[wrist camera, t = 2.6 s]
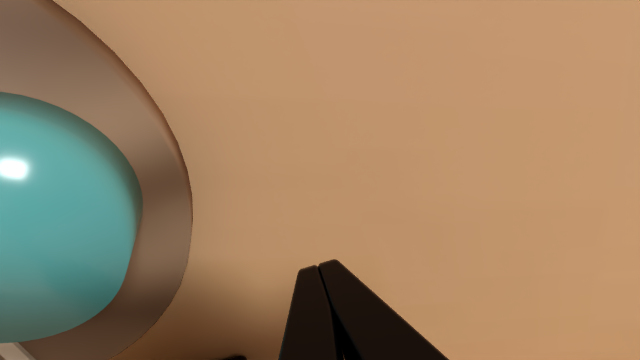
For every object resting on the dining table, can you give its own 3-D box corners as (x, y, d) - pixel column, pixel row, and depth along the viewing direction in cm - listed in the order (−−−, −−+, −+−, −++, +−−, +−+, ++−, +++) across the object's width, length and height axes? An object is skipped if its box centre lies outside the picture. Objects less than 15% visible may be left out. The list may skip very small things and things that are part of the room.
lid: (175, 247, 16) (167, 301, 14) (-19, 302, 16) (-66, 370, 13) (77, 62, 12) (39, 92, 9) (-199, 128, 11) (-320, 179, 9)
